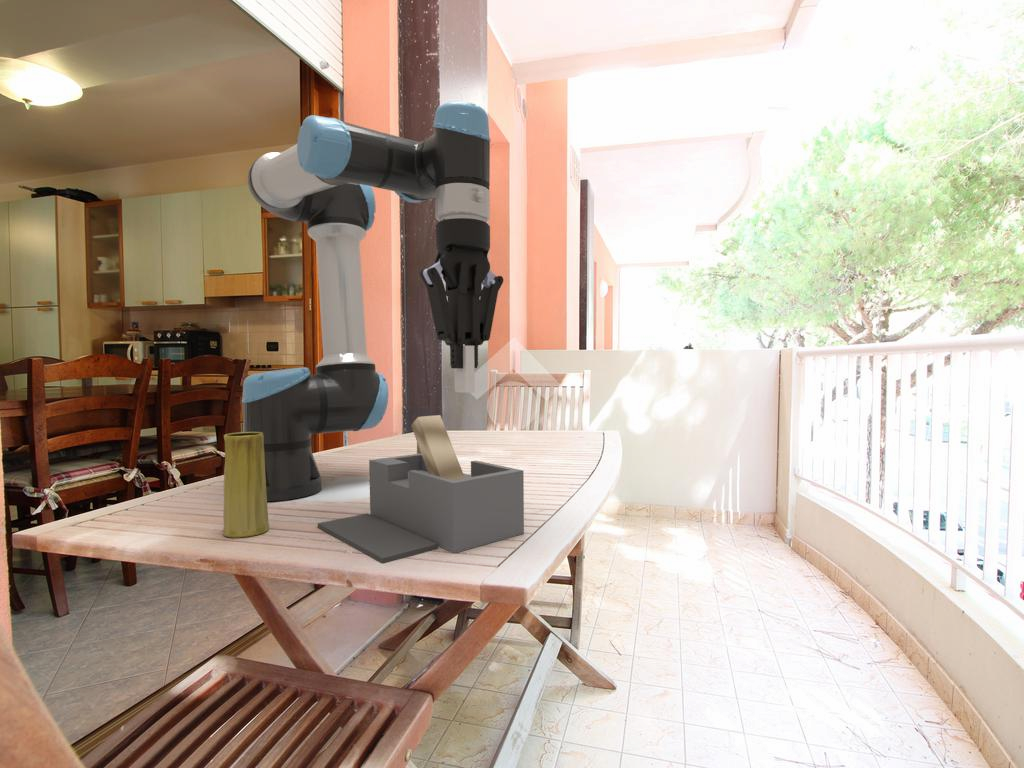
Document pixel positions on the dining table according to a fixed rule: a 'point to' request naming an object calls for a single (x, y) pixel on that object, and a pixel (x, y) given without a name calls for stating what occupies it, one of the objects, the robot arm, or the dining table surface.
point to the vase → (245, 485)
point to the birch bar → (436, 447)
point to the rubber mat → (377, 537)
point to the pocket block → (448, 501)
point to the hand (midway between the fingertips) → (464, 392)
